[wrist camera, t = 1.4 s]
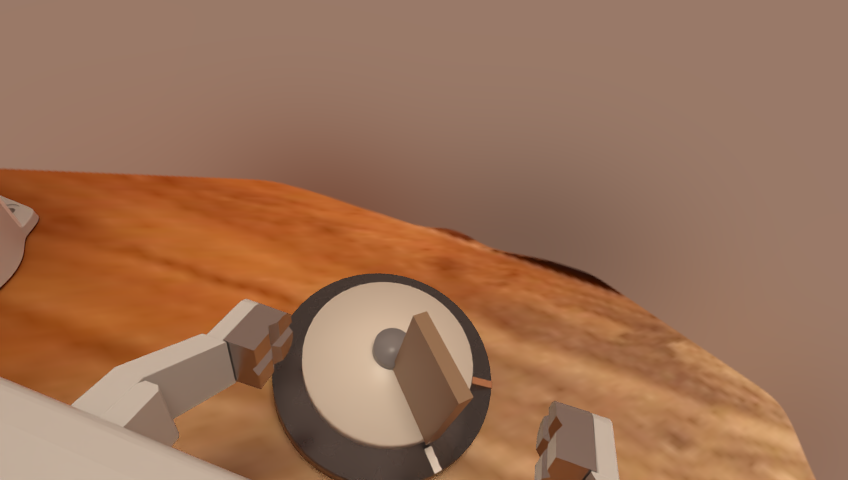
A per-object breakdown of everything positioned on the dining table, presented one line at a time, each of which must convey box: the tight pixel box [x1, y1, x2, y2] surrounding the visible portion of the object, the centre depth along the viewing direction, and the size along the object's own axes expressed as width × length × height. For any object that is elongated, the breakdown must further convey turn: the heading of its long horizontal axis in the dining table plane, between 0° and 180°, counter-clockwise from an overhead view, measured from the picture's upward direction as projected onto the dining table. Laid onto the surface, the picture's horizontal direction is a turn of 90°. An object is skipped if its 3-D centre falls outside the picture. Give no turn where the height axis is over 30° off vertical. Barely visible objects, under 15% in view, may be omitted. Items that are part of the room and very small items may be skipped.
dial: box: [302, 282, 473, 450], centre depth 34 cm, size 16×16×10 cm
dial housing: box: [272, 273, 492, 480], centre depth 39 cm, size 21×21×2 cm
